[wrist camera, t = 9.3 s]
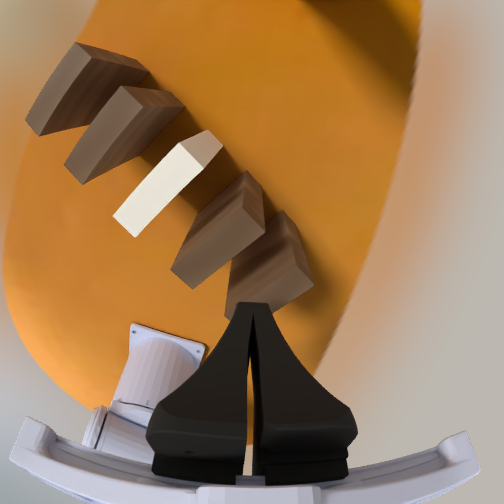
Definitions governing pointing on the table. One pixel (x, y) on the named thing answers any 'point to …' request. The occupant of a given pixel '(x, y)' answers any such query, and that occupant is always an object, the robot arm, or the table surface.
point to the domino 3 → (167, 180)
